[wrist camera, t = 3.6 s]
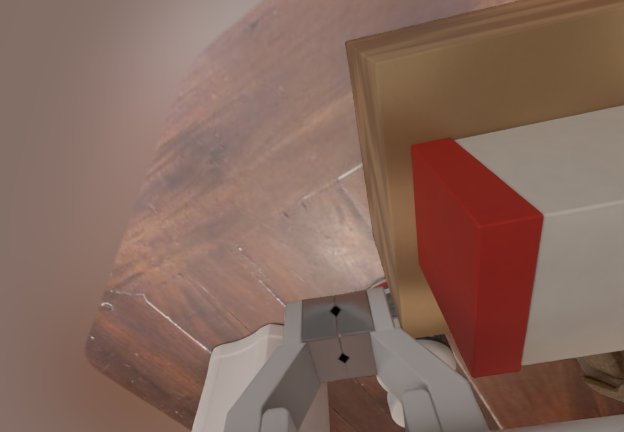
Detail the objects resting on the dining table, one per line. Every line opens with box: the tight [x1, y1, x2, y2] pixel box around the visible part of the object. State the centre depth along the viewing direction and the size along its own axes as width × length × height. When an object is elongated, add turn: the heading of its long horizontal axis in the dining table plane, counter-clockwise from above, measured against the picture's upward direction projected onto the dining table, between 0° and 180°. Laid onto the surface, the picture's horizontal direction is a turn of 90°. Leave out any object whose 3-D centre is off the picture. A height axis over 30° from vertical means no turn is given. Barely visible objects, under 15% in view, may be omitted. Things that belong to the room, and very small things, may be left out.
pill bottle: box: [370, 279, 456, 428], centre depth 26 cm, size 6×6×10 cm
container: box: [411, 105, 624, 378], centre depth 12 cm, size 6×10×6 cm, turn 102°
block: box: [345, 0, 624, 338], centre depth 19 cm, size 14×16×10 cm
